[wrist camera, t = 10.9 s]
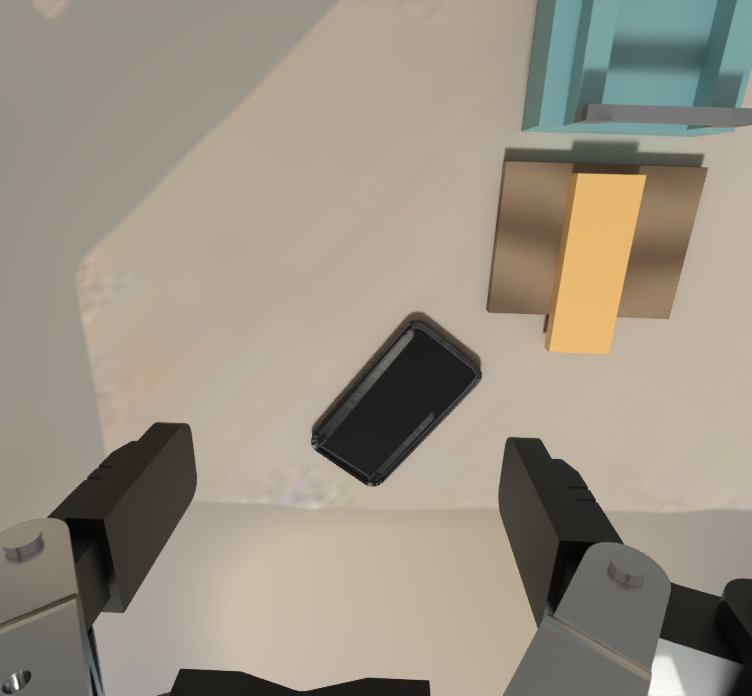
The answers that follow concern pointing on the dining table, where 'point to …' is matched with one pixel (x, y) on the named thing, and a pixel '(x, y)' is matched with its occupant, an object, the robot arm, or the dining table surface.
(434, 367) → the phone
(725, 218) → the dining table surface
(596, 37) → the ticket dispenser
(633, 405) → the dining table surface
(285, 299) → the dining table surface
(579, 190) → the ticket card
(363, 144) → the dining table surface
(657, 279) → the walnut mat
